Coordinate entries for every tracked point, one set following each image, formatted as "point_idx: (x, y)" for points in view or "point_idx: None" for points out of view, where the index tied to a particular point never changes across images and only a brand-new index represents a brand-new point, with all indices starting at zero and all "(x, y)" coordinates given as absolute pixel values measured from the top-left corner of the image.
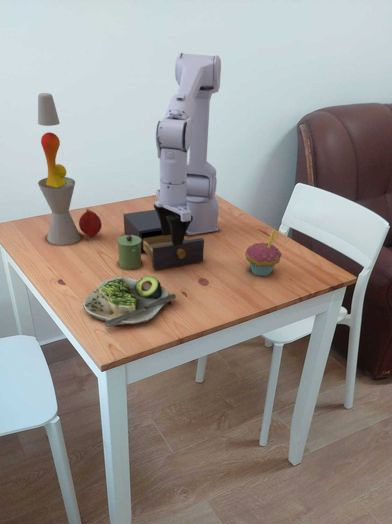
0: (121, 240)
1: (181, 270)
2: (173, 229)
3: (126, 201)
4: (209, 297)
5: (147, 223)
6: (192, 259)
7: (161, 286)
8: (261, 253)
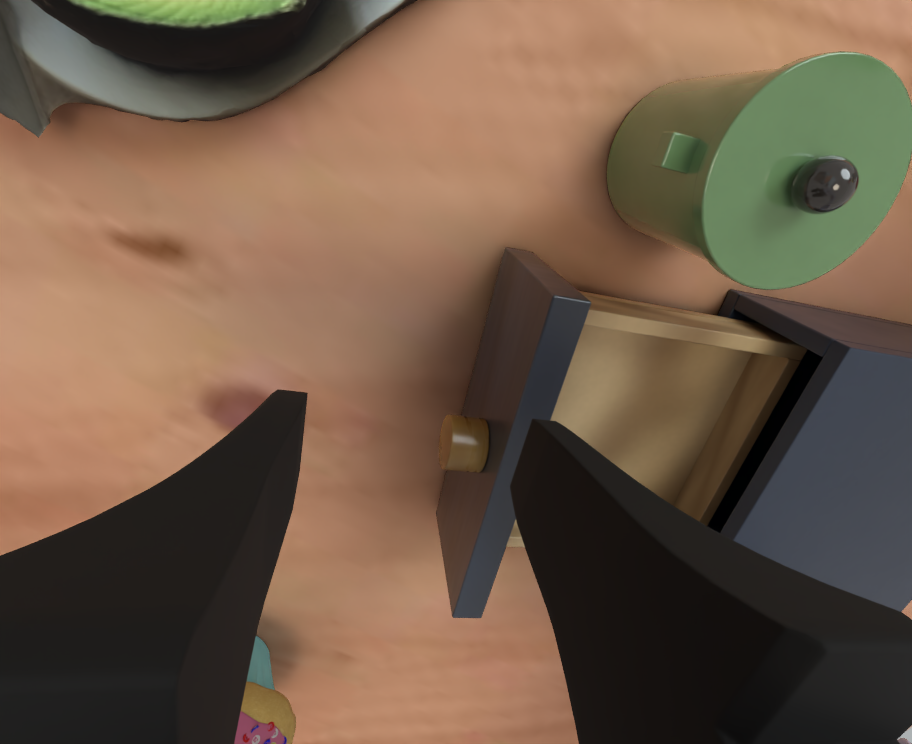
0: (858, 108)
1: (426, 382)
2: (120, 515)
3: None
4: (57, 351)
5: (871, 451)
6: (450, 476)
7: (209, 112)
8: None
